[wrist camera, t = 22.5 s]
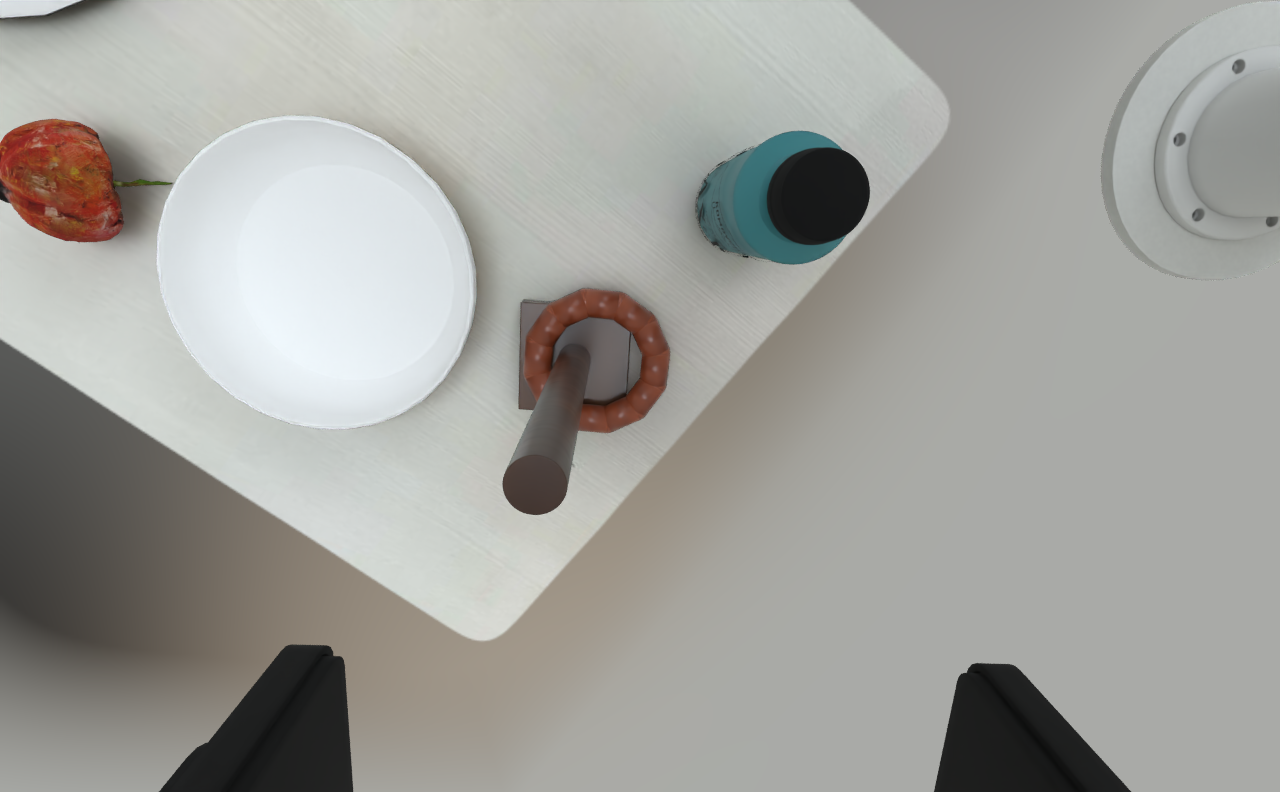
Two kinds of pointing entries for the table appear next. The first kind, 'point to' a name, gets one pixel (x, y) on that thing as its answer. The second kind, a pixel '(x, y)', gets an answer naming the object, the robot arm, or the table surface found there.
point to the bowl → (316, 272)
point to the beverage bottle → (784, 199)
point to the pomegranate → (62, 180)
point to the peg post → (563, 406)
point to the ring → (628, 317)
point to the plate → (33, 7)
